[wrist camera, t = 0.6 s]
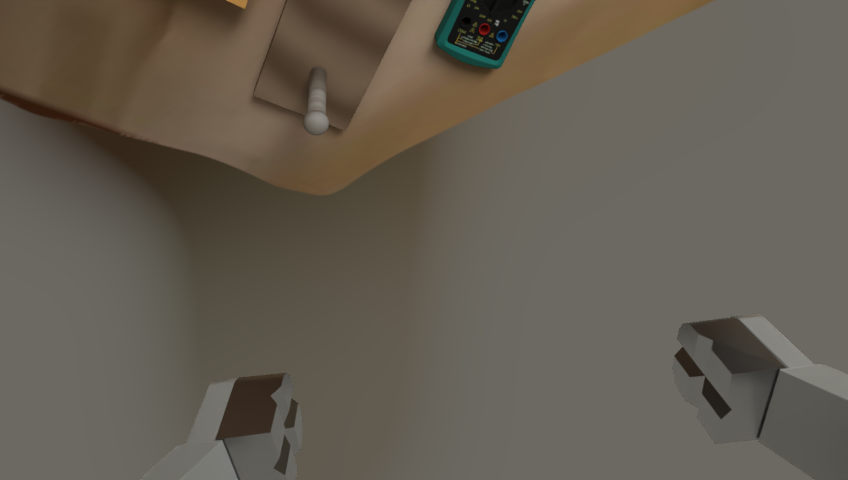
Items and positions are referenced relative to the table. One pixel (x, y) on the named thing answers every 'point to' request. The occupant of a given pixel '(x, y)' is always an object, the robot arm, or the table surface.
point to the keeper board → (327, 57)
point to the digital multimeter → (481, 30)
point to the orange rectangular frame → (239, 2)
